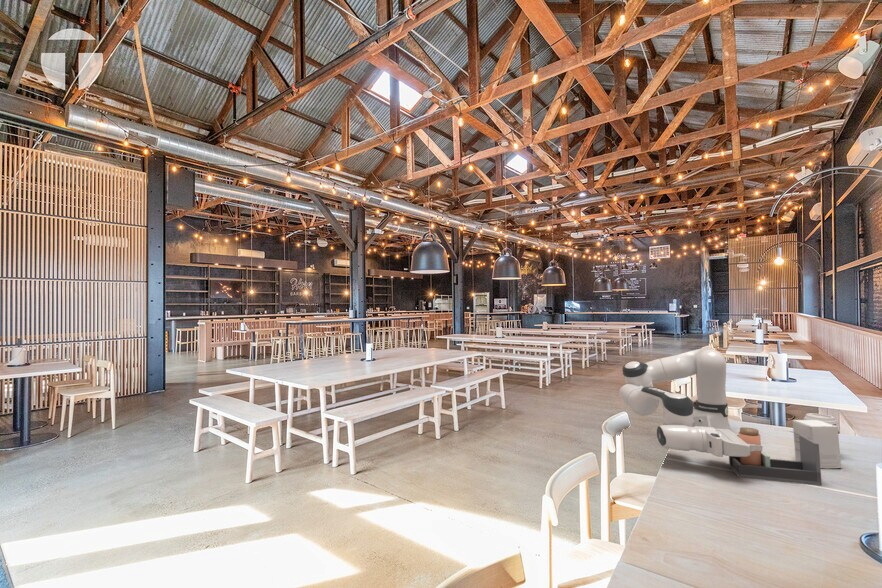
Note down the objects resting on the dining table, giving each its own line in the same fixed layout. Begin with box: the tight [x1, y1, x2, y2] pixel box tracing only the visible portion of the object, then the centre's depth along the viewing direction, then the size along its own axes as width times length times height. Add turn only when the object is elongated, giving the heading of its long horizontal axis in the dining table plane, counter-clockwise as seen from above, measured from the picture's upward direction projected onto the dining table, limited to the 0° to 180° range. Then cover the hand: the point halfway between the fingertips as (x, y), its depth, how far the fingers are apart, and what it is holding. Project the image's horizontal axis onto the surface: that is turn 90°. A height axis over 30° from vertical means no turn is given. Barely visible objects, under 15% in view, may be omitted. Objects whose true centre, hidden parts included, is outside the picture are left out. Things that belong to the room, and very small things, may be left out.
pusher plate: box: [761, 450, 771, 467], centre depth 137 cm, size 1×7×6 cm, turn 160°
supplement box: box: [792, 419, 842, 469], centre depth 145 cm, size 9×9×15 cm
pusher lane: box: [728, 435, 822, 486], centre depth 136 cm, size 22×10×13 cm, turn 70°
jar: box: [738, 426, 762, 466], centre depth 138 cm, size 6×6×14 cm
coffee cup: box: [803, 412, 839, 426], centre depth 154 cm, size 10×10×15 cm
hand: (755, 443), depth 137 cm, fingers open, 8 cm apart
